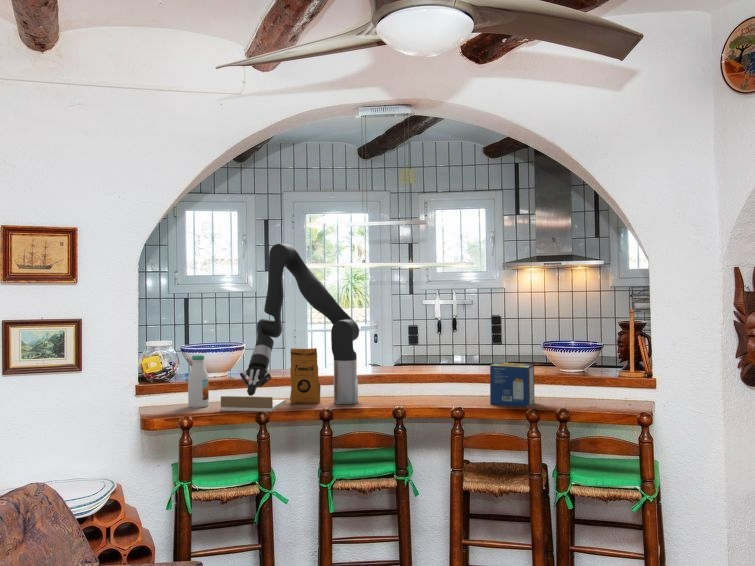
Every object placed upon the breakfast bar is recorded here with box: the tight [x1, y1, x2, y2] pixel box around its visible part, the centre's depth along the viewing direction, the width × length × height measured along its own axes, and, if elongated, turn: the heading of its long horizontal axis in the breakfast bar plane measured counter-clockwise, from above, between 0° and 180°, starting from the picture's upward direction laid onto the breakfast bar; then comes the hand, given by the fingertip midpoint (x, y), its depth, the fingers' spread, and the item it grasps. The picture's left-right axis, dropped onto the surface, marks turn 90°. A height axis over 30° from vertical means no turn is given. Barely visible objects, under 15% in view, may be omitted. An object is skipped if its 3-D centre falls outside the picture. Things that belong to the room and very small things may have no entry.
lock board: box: [220, 395, 286, 412], centre depth 255 cm, size 20×18×5 cm
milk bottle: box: [187, 354, 210, 409], centre depth 257 cm, size 8×8×20 cm
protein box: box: [489, 361, 536, 407], centre depth 258 cm, size 10×15×16 cm
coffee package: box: [289, 347, 322, 405], centre depth 263 cm, size 10×12×22 cm
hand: (250, 394), depth 251 cm, fingers closed
